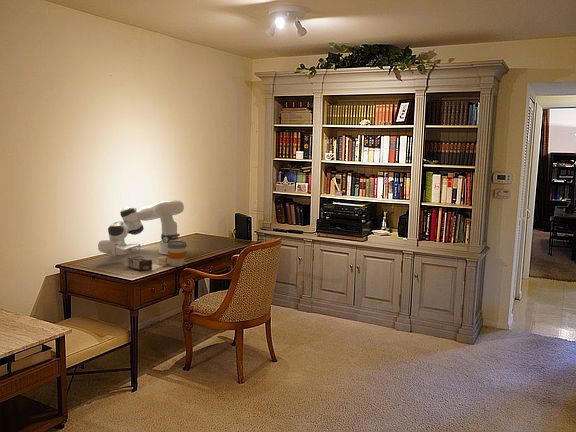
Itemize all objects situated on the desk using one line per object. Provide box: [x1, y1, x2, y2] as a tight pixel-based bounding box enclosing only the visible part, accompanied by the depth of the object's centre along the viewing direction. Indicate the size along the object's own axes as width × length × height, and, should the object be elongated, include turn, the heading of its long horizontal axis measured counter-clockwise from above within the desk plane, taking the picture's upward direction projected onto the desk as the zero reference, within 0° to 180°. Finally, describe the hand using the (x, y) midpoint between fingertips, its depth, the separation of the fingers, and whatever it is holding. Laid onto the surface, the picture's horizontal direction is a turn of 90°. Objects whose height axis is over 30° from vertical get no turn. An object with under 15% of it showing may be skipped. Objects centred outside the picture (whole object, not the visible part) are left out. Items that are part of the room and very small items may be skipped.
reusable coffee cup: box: [167, 240, 187, 267], centre depth 351 cm, size 13×13×15 cm
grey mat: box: [150, 263, 164, 271], centre depth 342 cm, size 14×14×1 cm
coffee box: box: [127, 255, 153, 272], centre depth 337 cm, size 9×6×16 cm
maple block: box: [157, 256, 168, 266], centre depth 351 cm, size 5×5×5 cm
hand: (139, 249), depth 343 cm, fingers closed
